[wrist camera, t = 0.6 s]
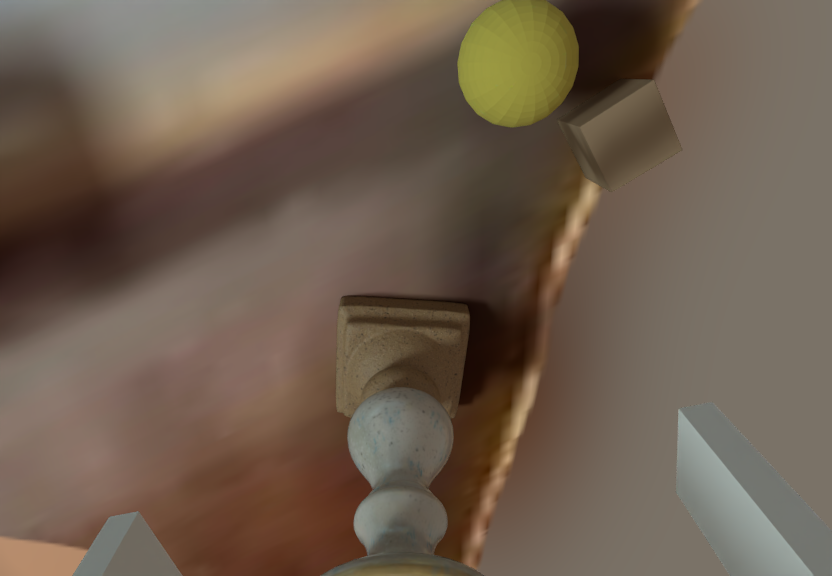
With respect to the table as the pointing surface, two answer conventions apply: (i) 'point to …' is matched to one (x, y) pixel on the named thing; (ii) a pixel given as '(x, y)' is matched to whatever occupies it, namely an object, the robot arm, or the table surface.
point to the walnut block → (620, 132)
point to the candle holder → (400, 426)
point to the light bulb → (518, 62)
